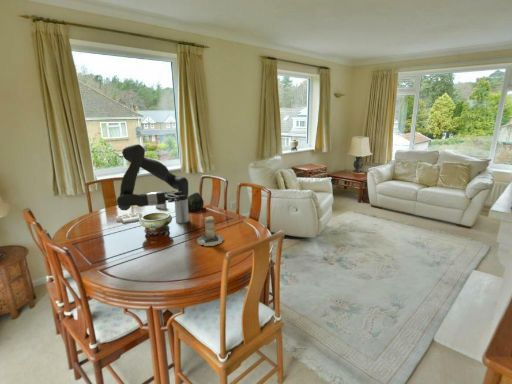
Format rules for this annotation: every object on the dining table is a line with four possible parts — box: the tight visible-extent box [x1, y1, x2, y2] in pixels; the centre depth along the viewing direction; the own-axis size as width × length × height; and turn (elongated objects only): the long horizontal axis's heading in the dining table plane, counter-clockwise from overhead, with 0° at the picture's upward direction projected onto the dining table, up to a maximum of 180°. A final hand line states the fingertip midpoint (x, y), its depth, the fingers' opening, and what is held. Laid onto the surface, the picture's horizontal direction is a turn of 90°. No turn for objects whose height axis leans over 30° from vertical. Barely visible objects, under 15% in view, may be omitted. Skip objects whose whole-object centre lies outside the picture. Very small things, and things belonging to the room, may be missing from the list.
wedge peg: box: [204, 215, 216, 239], centre depth 178 cm, size 4×4×14 cm
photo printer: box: [155, 201, 167, 210], centre depth 243 cm, size 10×4×12 cm, turn 60°
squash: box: [188, 192, 205, 211], centre depth 240 cm, size 14×15×15 cm
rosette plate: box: [196, 232, 224, 247], centre depth 180 cm, size 16×16×3 cm
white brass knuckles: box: [115, 211, 143, 224], centre depth 218 cm, size 3×18×15 cm
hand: (184, 195), depth 173 cm, fingers open, 8 cm apart
